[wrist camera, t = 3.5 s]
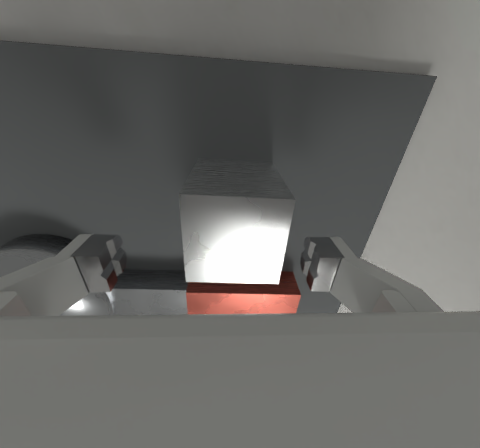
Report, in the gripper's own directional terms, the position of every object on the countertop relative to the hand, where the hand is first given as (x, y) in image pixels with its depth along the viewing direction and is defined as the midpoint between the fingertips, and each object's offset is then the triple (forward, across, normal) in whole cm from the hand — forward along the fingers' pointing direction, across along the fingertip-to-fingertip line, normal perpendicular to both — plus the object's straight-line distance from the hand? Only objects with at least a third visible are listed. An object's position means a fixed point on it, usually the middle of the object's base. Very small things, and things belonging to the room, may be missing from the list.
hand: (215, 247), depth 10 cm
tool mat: (+6, +5, +3) cm, 8 cm away
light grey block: (+5, -1, 0) cm, 5 cm away
